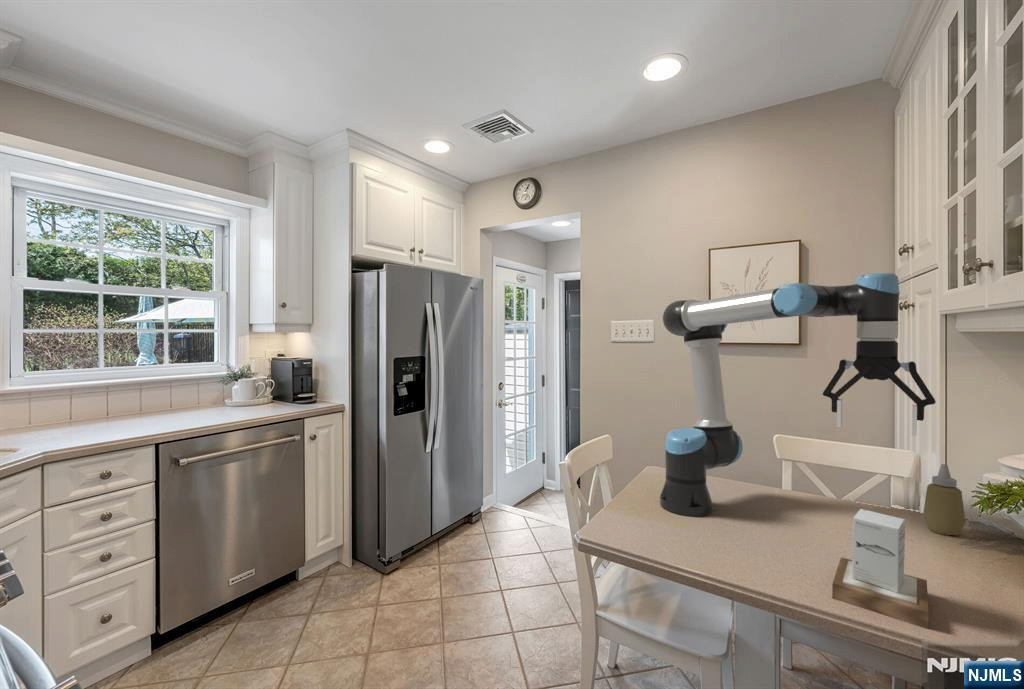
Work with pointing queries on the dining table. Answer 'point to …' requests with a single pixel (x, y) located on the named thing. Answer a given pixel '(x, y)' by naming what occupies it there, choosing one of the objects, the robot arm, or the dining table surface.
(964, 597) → the dining table surface
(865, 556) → the supplement box
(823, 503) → the dining table surface
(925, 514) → the squeeze bottle
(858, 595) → the picture frame
